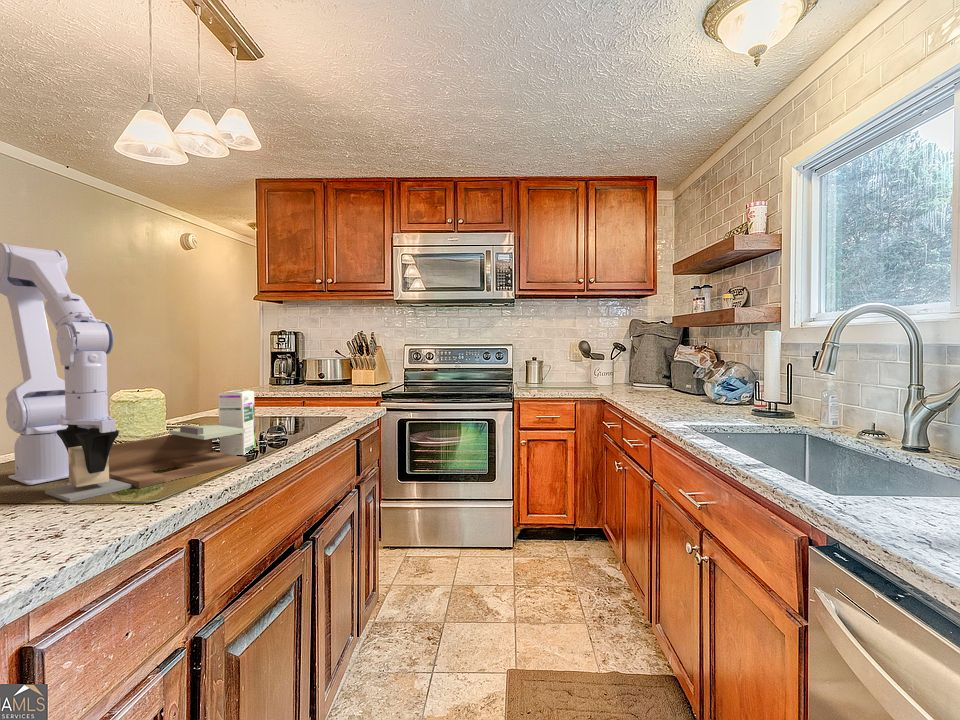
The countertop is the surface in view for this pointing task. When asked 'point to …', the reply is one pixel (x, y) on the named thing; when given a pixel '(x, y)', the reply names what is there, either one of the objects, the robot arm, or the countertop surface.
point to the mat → (87, 490)
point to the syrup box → (237, 421)
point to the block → (83, 469)
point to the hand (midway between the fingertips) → (88, 470)
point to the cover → (206, 431)
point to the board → (165, 459)
